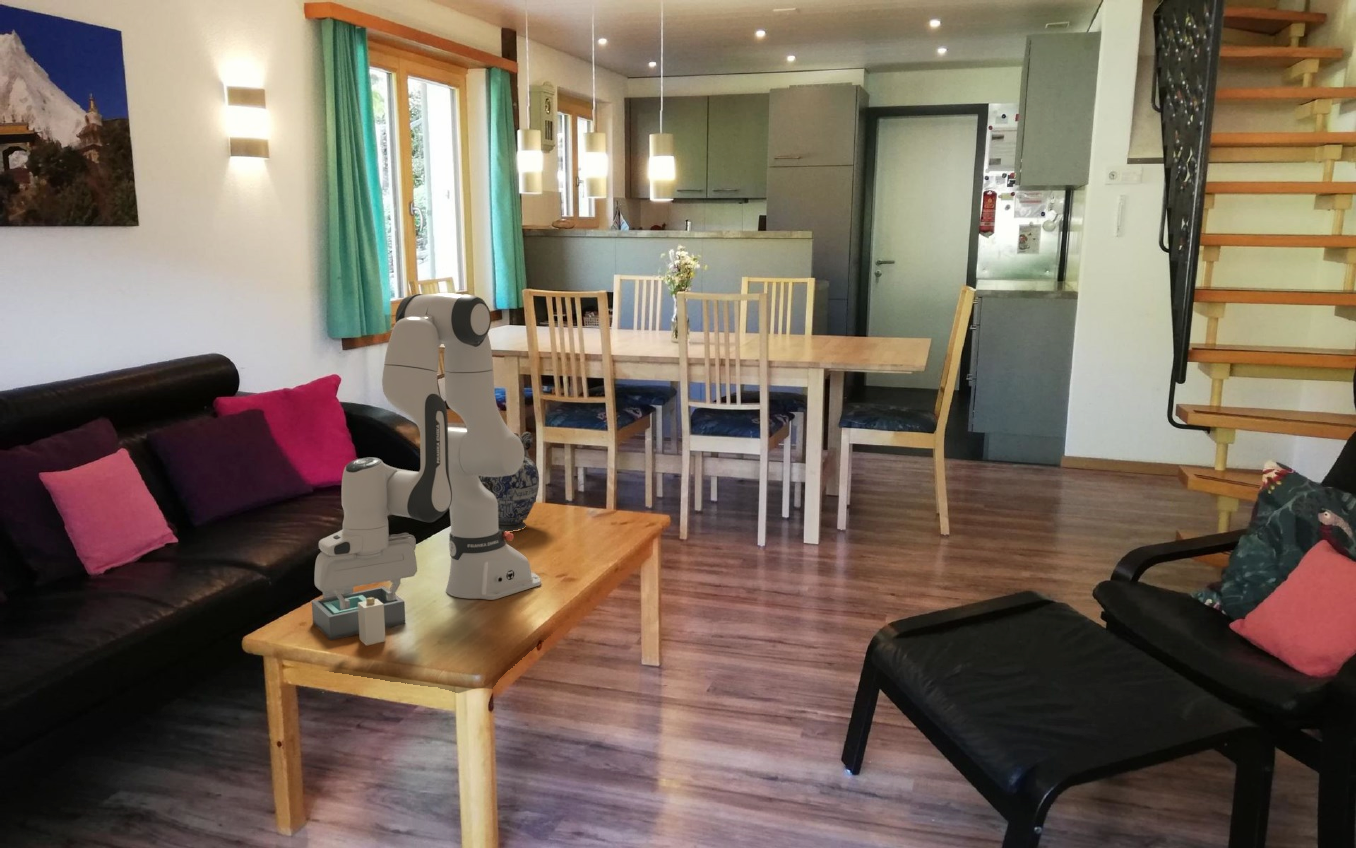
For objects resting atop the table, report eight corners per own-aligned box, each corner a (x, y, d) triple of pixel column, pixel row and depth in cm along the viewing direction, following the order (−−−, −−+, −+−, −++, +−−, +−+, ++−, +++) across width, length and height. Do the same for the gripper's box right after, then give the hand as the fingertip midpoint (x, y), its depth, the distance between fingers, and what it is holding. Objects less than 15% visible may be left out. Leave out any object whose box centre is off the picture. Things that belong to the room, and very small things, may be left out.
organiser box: (385, 607, 216) (384, 586, 216) (405, 623, 207) (404, 601, 206) (312, 623, 207) (311, 600, 206) (330, 640, 197) (329, 617, 197)
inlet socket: (363, 612, 211) (362, 595, 210) (375, 622, 205) (374, 604, 204) (324, 620, 206) (323, 603, 205) (335, 631, 200) (334, 613, 199)
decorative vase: (506, 541, 268) (503, 442, 263) (459, 532, 278) (455, 437, 273) (556, 524, 285) (554, 432, 281) (510, 516, 295) (507, 427, 291)
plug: (378, 635, 200) (376, 594, 199) (385, 641, 197) (383, 599, 196) (359, 639, 198) (357, 598, 197) (366, 645, 195) (364, 603, 193)
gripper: (409, 528, 202) (411, 591, 204) (310, 542, 190) (313, 609, 192) (421, 534, 197) (422, 599, 199) (320, 549, 185) (322, 618, 187)
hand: (368, 604), depth 196 cm, fingers open, 8 cm apart
